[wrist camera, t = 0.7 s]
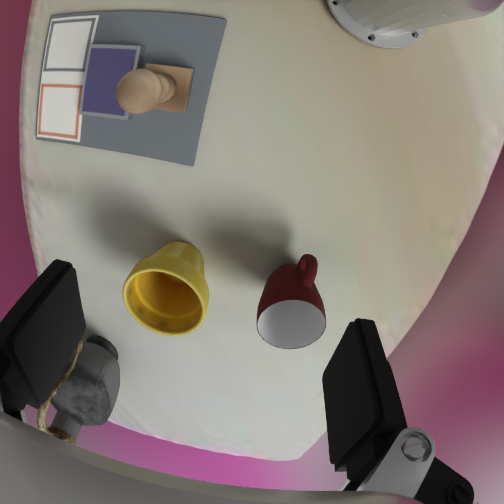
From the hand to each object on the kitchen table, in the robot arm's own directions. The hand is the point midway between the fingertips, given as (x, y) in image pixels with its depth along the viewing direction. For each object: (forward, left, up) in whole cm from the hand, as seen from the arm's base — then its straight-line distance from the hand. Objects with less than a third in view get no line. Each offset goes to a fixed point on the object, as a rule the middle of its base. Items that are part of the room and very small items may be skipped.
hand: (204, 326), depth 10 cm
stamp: (-4, -11, -29) cm, 31 cm away
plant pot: (+19, -6, -30) cm, 35 cm away
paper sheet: (-4, -26, -29) cm, 40 cm away
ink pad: (-4, -18, -29) cm, 35 cm away
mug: (+16, +9, -30) cm, 35 cm away
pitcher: (+43, -20, -30) cm, 56 cm away
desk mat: (-4, -18, -29) cm, 35 cm away
